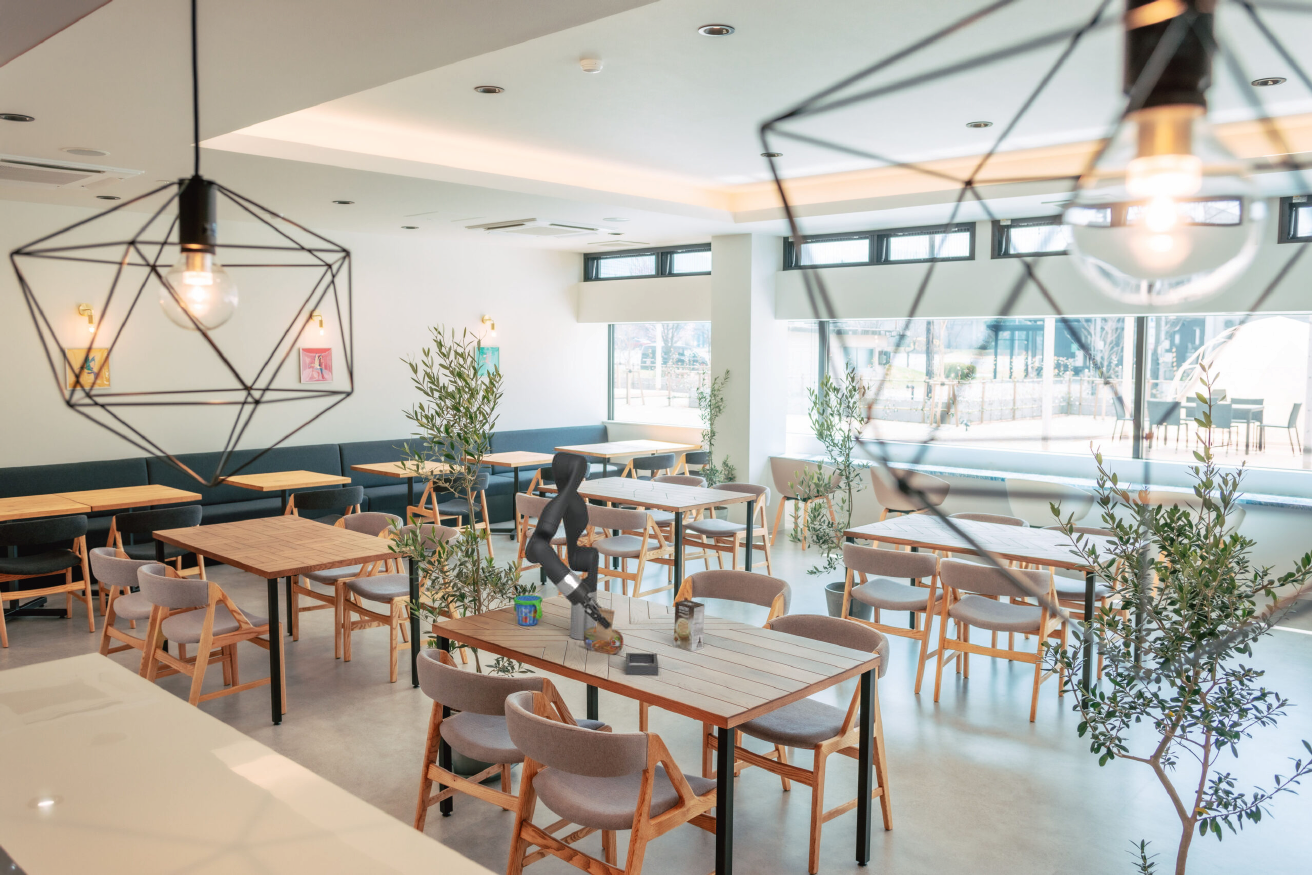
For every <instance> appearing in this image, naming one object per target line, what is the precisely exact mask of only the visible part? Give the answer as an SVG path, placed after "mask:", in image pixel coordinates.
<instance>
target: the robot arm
mask: <svg viewBox="0 0 1312 875" xmlns="http://www.w3.org/2000/svg"><path fill="white" fill-rule="evenodd" d="M587 470H588V461H587V458H586V456H584V455H582V454H578V453H577V454H576V453H570V452H566V451H559V452H558V451H557V453H555V454H554V455H553V457H552V461H551V473H552V476H553V480H554V484H555V486H556V491H557V495H555V496H553V497H552V499H550V500H549V501H548V502H547V503H546V504H545V506H543V508H542V511H541V513H540V515H539V518H538V521H537V523H536V525H535V529H534V530H533V532H532V534H531V536H530V538H529V540H528V542H527V543H526V546H525V549H524V556H525V560H527V562H528V563H530V564H532V565H533V564H534V565H535V564H536V565H537V564H539V565H540V566H541V567H542V568H543V569H544V574H545V576H546V577H547V578H548V579H549V581H550V582H551V583H552V584H553V585H554V586H555V587H556V589H557V590H558V591H559V592H560V593H561V594H562V595H563V596H564V597H565V599H566V600H568V601H569V603H570V604H571V606H570V632H569V634H570V635H569V636H570V638H572V639H574V640H581V641H584V639H583V637H584V633H585V631H586V630H587V629H588V628H591V627H596V626H597V621H599V623H600V624H601V625H602V626H603V627H604V628H605V629H608V628H609V627H610V626H611V624H610V623H609V622H608V621H607V620H606V618H605V617H604V616H603V615H602V614H601V613H600V612H599V608H602V607H601V605H600V604H599V603H598V601H597V599H598V581H599V580H598V577H599V562H600V552H599V550H598V548H597V547H594V546H580V545H579V544H578V542H579V539H580V537H581V536H582V534H583V533H584V532H585V530H586V529H587V528H588V525H589V521H590V517H589V516H590V515H589V510H588V506H587V503H586V501H585V499H584V498H583V497H582V495H581V494H580V493H579V492H578V489H579V487H580V486H581V484H582V483H583V480H584V478H585V476H586V473H587ZM561 522H562V523H563V528H564V533H565V541H566V552H567V553H566V554H567V564H568V566H567V565H566V564H565V563H564V562H563V561H562V560H561V558H560V556H559V555H558V553H557V552H556V550H555V549H554V547H553V546H552V545H551V541H552V540H553V538H554V537H555V536H556V534H557V532H558V529H559V527H560V525H561ZM575 572H577V573H578V572H579V573H580V572H581V573H587V576H585V577H584V578H581V577H579V576H578V575H577V574H576V573H575Z"/></svg>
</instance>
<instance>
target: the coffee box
mask: <svg viewBox="0 0 1312 875" xmlns="http://www.w3.org/2000/svg"><path fill="white" fill-rule="evenodd" d="M674 603H675V604H674V627H673V628H674V629H673V630H674V632H673V647H677V648H680V649H683V650H686V651H690V652H694V651H699V650H702V649H703V647H704V645H703V644H704V643H703V641H704V624H705V604H704V603H702V602H701V603H700V602H697V601H695V600H694V601H693V600H691V599H682V600H679V601H675V602H674Z"/></svg>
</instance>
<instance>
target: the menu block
mask: <svg viewBox="0 0 1312 875" xmlns="http://www.w3.org/2000/svg"><path fill="white" fill-rule="evenodd" d="M599 612H600V613H601V614H602V615H603V616H604V617H605V618H606V620H607V621H608V622H609V623H610V624H611V626H610V627H609V628H608V629H605V628H604V627H603V626H602V625H601V624H600V623H599V621H597V622H596V633H595V639H596V640H603V641H610V636H611V630H612V629H613V622H614V616H615V610H614V609H607V608H602V607H601V608H599Z"/></svg>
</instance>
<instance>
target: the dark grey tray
mask: <svg viewBox="0 0 1312 875" xmlns="http://www.w3.org/2000/svg"><path fill="white" fill-rule="evenodd" d="M658 660H659V659H658V653H650V652H649V653H647V652H646V653H645V652H644V653H643V652H626V653H625V676H657V677H658V676H659V661H658Z"/></svg>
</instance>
